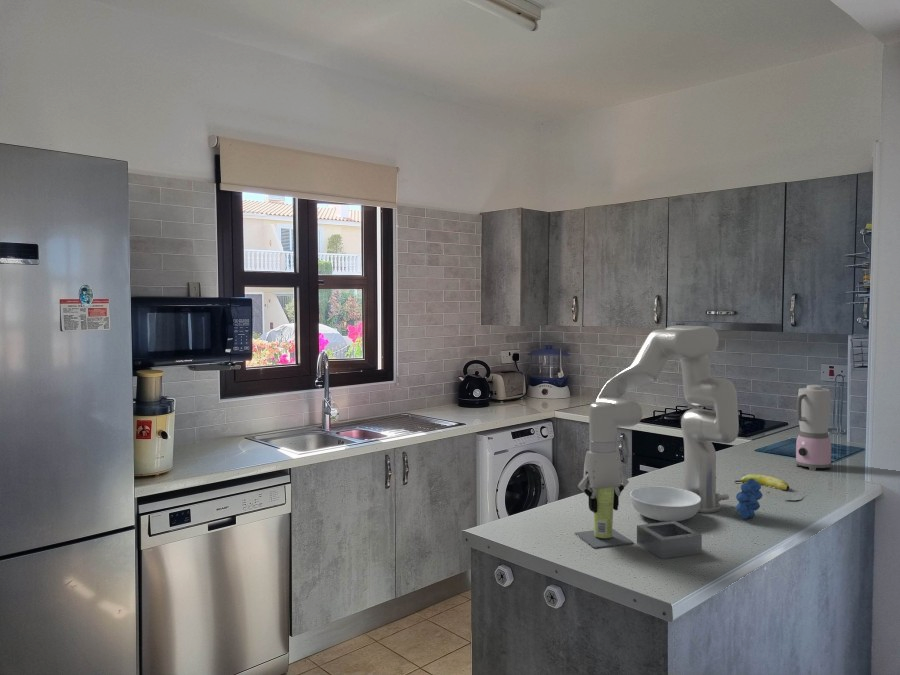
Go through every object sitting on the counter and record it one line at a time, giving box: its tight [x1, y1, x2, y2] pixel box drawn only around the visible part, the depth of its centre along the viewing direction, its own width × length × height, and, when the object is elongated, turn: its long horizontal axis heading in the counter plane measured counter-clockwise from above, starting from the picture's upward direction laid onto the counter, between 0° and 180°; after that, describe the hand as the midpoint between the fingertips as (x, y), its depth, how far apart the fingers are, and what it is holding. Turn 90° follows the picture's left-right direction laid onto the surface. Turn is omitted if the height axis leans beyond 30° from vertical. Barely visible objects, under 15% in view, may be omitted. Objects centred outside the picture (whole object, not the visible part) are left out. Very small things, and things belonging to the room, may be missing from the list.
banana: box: [734, 473, 806, 494], centre depth 240 cm, size 35×27×4 cm
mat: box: [574, 528, 634, 549], centre depth 190 cm, size 12×12×1 cm
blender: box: [795, 384, 832, 471], centre depth 263 cm, size 16×12×32 cm
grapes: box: [735, 478, 763, 520], centre depth 206 cm, size 12×7×12 cm, turn 125°
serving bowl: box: [629, 485, 701, 522], centre depth 208 cm, size 21×21×7 cm
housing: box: [636, 521, 703, 560], centre depth 182 cm, size 12×12×5 cm
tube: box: [593, 487, 614, 538], centre depth 190 cm, size 6×5×20 cm
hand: (603, 509), depth 190 cm, fingers closed on tube, 5 cm apart
